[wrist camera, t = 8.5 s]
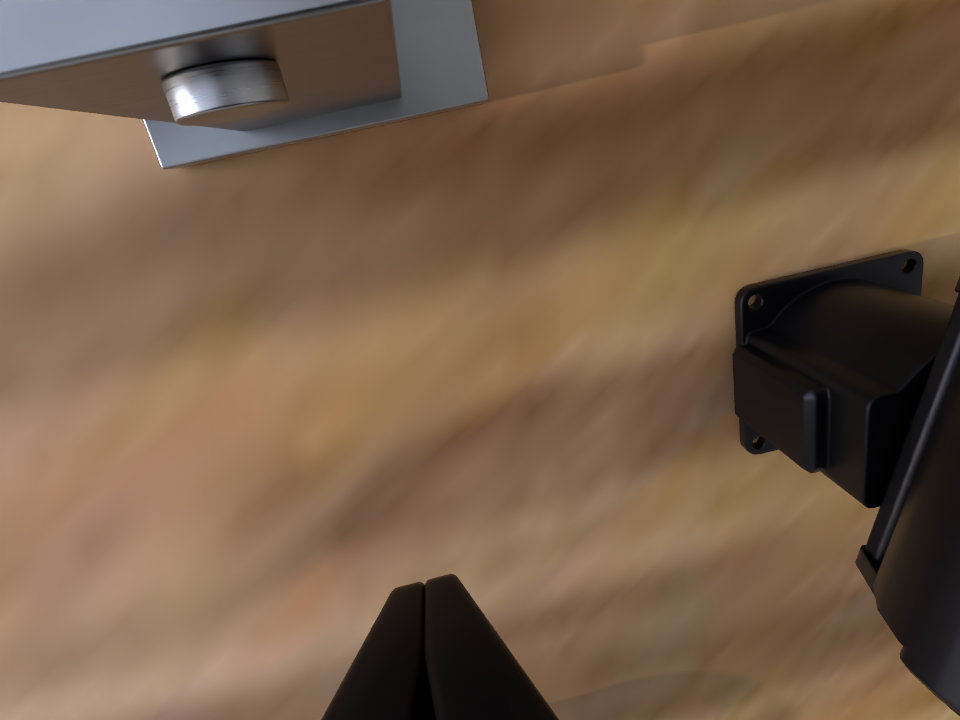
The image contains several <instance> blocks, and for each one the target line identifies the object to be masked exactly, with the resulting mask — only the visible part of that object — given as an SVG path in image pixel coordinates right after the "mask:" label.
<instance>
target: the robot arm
mask: <svg viewBox="0 0 960 720" xmlns="http://www.w3.org/2000/svg"><path fill="white" fill-rule="evenodd" d="M906 260H907V264H906V267H905V268H904V269H902V267H903V264H904V263H905V262H906ZM922 274H923V257H922V256H921V254H920V253H918V252H916V251H911V250H898V251H894V252H889V253H885V254H880V255H876V256H872V257H867V258H863V259H859V260H854V261H850V262H846V263H841V264H837V265H833V266H828V267H824V268H820V269H815V270H811V271H806V272H802V273H798V274H793V275H789V276H785V277H780V278H776V279H772V280H767V281H763V282H759V283H754V284H750V285H747V286H744V287H743V288H741V289H740V290H739V291H738V293H737V295H736V297H735V323H736V348H735V350H734V352H733V376H734V399H735V414H736V415H737V416H738V417H739V424H740V442H741V445H742V446H743V447H744V448H745V449H746V450H747V451H748V452H749V453H752V454H762V453H766V452H770V451H774V450H778V449H779V450H780V451H782V452H783V453H784V454H785V455H787V456H788V457H789V458H790V459H792V460H793V461H794V462H795V463H797V464H798V465H799V466H800V467H802V468H803V469H805V470H806V471H808V472H810V473H815V472H819V471H821V472H822V473H823V474H824V475H826V476H827V477H828V478H830V479H831V480H832V481H833V482H835V483H836V484H837V485H839V486H840V487H841V488H842V489H844V490H845V491H846V492H848V493H849V494H850V495H851V496H853V497H854V498H855V499H857V500H858V501H859V502H861V503H862V504H863V505H864V506H866V507H867V508H875V507H879V506H880V509H879V511H878V514H877V517H876V520H875V522H874V525H873V528H872V530H871V533H870V536H869V539H868V541H867V544H866V545H862V546H861V548H860V551H859V554H858V556H857V559H856V565H857V567H858V568H859V570H860V572H861V573H862V575H863V577H864V578H865V580H866V582H867V584H868V585H869V587H870V589H871V590H872V592H873V594H874V596H875V598H876V603H877V608H878V611H879V612H880V614H881V615H882V617H883V618H884V620H885V621H886V623H887V624H888V626H889V627H890V629H891V630H892V632H893V633H894V635H895V636H896V638H897V639H898V641H899V642H900V643H901V644H902V645H903V647H902V650H901V652H900V659H901V660H902V662H903V663H904V664H905V666H906V667H907V668H908V670H909V671H910V672H911V673H912V674H913V675H914V676H915V677H916V678H917V679H918V680H919V681H921V682H922V683H923V684H924V685H925V686H926V687H927V688H928V689H929V690H930V691H931V692H932V693H933V694H934V695H935V696H936V697H938V698H939V699H940V700H941V701H943V702H944V703H945V704H946V705H947V706H948V707H949V708H950V709H952V710H953V711H954V712H955V713H957V714H958V715H959V716H960V277H959V280H958V283H957V285H956V288H955V292H958V293H959V294H958V297H957V300H956V303H955V305H954V306H953V305H950V304H946V303H943V302H939V301H935V300H932V299H928V298H925V297H921V286H922ZM753 295H755V296H756V299H755V302H754V303H753V304H752V305H750V306H749V305H748V301H749V299H750V297H751V296H753ZM757 437H759V439H758V440H757V442H755V443H753V440H754V439H755V438H757ZM752 443H753V444H752ZM321 720H559V719H558V718H557V716H556V715H555V714H554V712H553V711H552V709H551V708H550V707H549V705H548V704H547V702H546V701H545V700H544V698H543V697H542V695H541V694H540V692H539V691H538V690H537V688H536V687H535V685H534V684H533V683H532V681H531V680H530V678H529V677H528V676H527V674H526V673H525V671H524V670H523V669H522V667H521V666H520V664H519V663H518V662H517V660H516V659H515V657H514V656H513V655H512V653H511V652H510V650H509V649H508V648H507V646H506V645H505V643H504V642H503V640H502V639H501V638H500V636H499V635H498V633H497V632H496V631H495V629H494V628H493V626H492V625H491V624H490V622H489V621H488V619H487V618H486V617H485V615H484V614H483V612H482V611H481V610H480V608H479V607H478V605H477V604H476V603H475V601H474V600H473V598H472V597H471V596H470V594H469V593H468V591H467V590H466V589H465V587H464V586H463V584H462V583H461V581H460V580H459V579H458V577H457V576H456V575H454V574H449V575H445V576H441V577H437V578H433V579H429V580H428V581H427V582H426V584H425V585H424V584H423V583H422V582H417V583H413V584H409V585H405V586H401V587H397V588H395V589H394V590H393V591H392V592H391V594H390V596H389V597H388V599H387V601H386V603H385V605H384V606H383V608H382V610H381V612H380V614H379V616H378V617H377V619H376V621H375V623H374V625H373V627H372V628H371V630H370V632H369V634H368V636H367V637H366V639H365V641H364V643H363V645H362V647H361V648H360V650H359V652H358V654H357V656H356V658H355V659H354V661H353V663H352V665H351V667H350V668H349V670H348V672H347V674H346V676H345V678H344V679H343V681H342V683H341V685H340V687H339V688H338V690H337V692H336V694H335V696H334V698H333V699H332V701H331V703H330V705H329V707H328V709H327V710H326V712H325V714H324V716H323V718H322V719H321Z"/></svg>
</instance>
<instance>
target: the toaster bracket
mask: <svg viewBox="0 0 960 720" xmlns="http://www.w3.org/2000/svg"><path fill="white" fill-rule="evenodd" d="M487 100H489V95H488V90H487V84H486V79H485V73H484V67H483V62H482V56H481V50H480V45H479V39H478V33H477V28H476V22H475V16H474V11H473V5H472V0H0V102H7V103H15V104H23V105H32V106H40V107H48V108H56V109H64V110H73V111H81V112H89V113H97V114H105V115H113V116H122V117H130V118H138V119H143V120H144V123H145V125H146V128H147V131H148V133H149V136H150V139H151V141H152V144H153V146H154V149H155V152H156V154H157V157H158V160H159V162H160V165H161V167H162V168H163V169H174V168H183V167H187V166H192V165H197V164H201V163H206V162H211V161H215V160H220V159H225V158H230V157H234V156H239V155H244V154H248V153H253V152H258V151H263V150H267V149H272V148H277V147H281V146H286V145H291V144H296V143H300V142H305V141H310V140H314V139H319V138H324V137H328V136H333V135H338V134H343V133H347V132H352V131H357V130H361V129H366V128H371V127H376V126H380V125H385V124H390V123H394V122H399V121H404V120H409V119H413V118H418V117H423V116H427V115H432V114H437V113H441V112H446V111H451V110H456V109H460V108H465V107H470V106H474V105H479V104H483V103H484V102H486V101H487Z"/></svg>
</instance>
